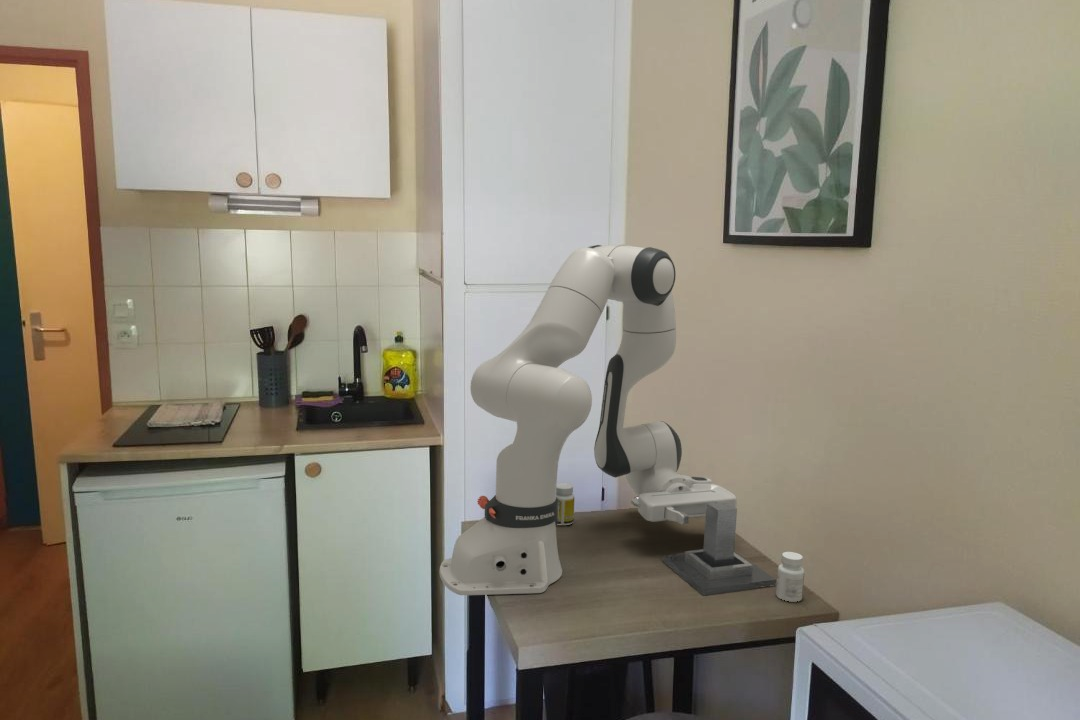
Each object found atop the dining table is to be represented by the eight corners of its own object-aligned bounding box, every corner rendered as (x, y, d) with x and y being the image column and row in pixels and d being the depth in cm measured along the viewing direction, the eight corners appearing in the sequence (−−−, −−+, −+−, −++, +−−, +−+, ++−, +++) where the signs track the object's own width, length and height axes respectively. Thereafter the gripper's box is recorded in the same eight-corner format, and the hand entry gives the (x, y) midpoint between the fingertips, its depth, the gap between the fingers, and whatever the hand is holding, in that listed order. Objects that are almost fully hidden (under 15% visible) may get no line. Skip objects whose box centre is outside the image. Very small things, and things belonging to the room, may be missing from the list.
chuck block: (703, 595, 133) (704, 579, 133) (662, 561, 147) (663, 546, 147) (775, 585, 138) (776, 570, 138) (729, 553, 152) (730, 539, 152)
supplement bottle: (574, 519, 168) (575, 483, 167) (573, 527, 164) (574, 489, 163) (552, 518, 169) (553, 481, 168) (550, 525, 164) (552, 488, 163)
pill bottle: (807, 599, 133) (811, 557, 132) (790, 605, 131) (794, 562, 130) (787, 589, 137) (790, 548, 136) (770, 594, 134) (773, 553, 133)
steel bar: (713, 572, 140) (718, 510, 138) (702, 564, 144) (706, 503, 142) (732, 570, 141) (737, 508, 139) (720, 561, 145) (725, 501, 143)
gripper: (627, 484, 155) (659, 506, 142) (715, 477, 161) (753, 498, 148) (626, 513, 156) (657, 538, 143) (713, 505, 162) (750, 529, 149)
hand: (707, 518), depth 146 cm, fingers open, 8 cm apart
